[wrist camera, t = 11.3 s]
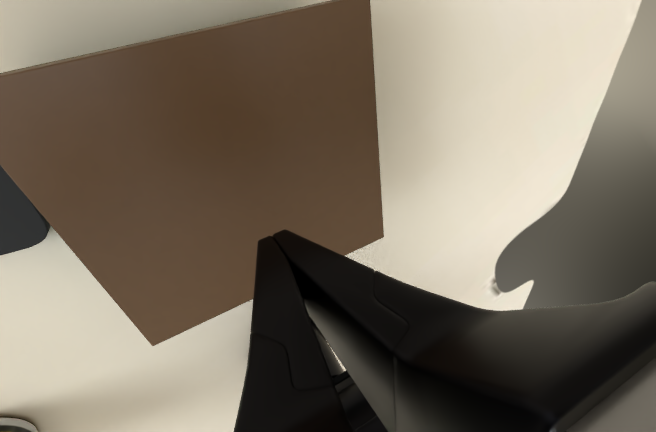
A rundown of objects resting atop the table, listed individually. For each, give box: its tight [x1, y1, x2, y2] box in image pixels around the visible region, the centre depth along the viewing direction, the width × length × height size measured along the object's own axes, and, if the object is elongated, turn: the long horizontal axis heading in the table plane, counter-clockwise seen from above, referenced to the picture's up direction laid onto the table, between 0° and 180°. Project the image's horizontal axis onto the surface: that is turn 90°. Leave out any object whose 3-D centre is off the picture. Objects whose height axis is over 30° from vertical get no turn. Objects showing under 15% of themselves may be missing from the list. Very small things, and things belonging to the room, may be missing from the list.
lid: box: [0, 0, 384, 346], centre depth 15 cm, size 12×14×1 cm
